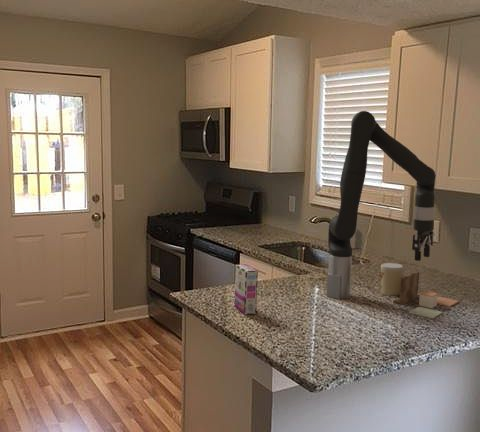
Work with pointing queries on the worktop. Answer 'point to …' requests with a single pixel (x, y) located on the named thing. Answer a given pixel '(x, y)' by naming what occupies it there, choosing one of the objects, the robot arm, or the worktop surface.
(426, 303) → the block
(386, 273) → the coffee cup
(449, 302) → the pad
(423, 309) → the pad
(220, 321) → the worktop surface
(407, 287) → the screen
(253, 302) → the candy bar box
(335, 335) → the worktop surface
